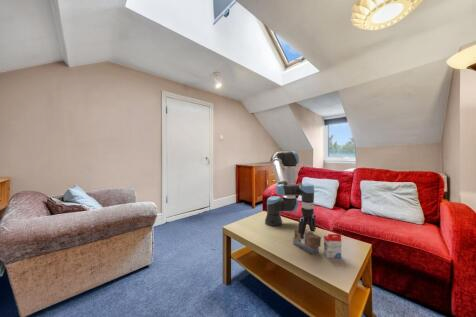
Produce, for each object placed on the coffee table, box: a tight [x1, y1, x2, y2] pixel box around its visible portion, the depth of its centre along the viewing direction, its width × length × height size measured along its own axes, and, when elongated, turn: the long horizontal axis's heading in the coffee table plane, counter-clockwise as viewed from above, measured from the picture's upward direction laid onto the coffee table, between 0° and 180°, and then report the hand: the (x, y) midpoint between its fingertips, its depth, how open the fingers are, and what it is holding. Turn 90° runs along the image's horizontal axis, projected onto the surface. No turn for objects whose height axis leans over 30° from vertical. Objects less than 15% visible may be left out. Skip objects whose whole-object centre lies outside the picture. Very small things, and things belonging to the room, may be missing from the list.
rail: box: [292, 236, 320, 256], centre depth 120 cm, size 16×6×8 cm, turn 30°
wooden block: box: [294, 228, 322, 249], centre depth 119 cm, size 15×7×6 cm, turn 30°
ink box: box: [323, 233, 342, 259], centre depth 111 cm, size 8×5×15 cm, turn 92°
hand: (306, 241), depth 119 cm, fingers closed on wooden block, 7 cm apart
